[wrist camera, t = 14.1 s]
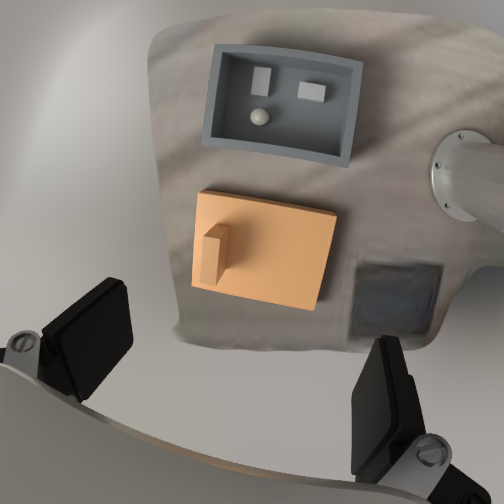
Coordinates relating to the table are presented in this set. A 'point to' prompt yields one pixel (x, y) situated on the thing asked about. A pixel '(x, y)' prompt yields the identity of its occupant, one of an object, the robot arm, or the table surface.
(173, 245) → the table surface
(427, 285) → the table surface
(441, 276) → the table surface
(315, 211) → the lid
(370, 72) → the table surface
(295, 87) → the tub
